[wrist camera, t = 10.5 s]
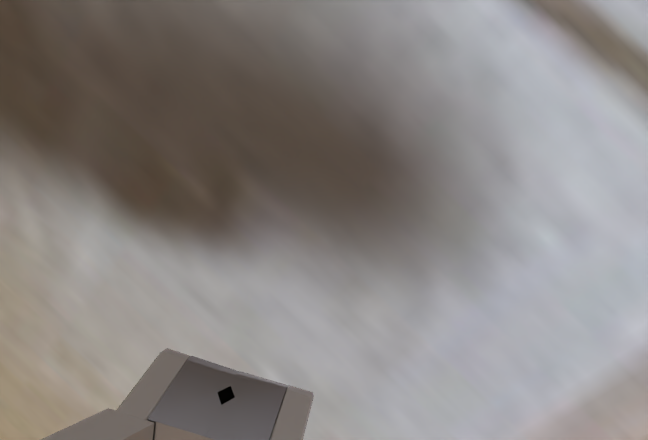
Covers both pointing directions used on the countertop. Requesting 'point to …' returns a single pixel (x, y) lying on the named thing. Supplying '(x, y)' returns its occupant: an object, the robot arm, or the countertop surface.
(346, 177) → the countertop surface
